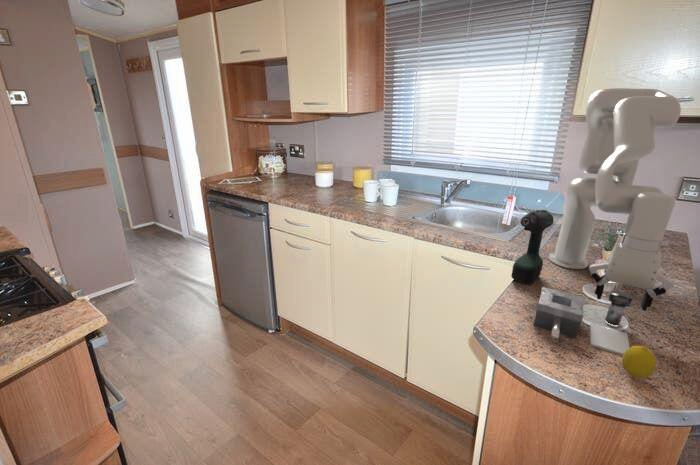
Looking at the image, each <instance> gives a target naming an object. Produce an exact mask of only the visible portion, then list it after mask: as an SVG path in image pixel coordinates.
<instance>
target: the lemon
mask: <svg viewBox="0 0 700 465" xmlns="http://www.w3.org/2000/svg"><path fill="white" fill-rule="evenodd" d="M629 347H630V348H629V349H627V350H626V352H625V353H624V355H622V358H621V363H622V367H623V369H624V371H625V372H626V373H628V374H629V375H630V376H631V377H632V378H639V379H645V378H647V377H650V376H651V375H652V374H653V373H654V372H655V369H656V366H657V359H656V356H655V353H653V351H651V350H650V349H649V348H647V347H646V346H642V345H633V346H629Z"/></svg>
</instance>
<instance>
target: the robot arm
mask: <svg viewBox="0 0 700 465" xmlns="http://www.w3.org/2000/svg"><path fill="white" fill-rule="evenodd" d="M681 112H682V109H681V104H680V102H679V100H678V98H677V97H675V96H673V95H672V94H670V93H667V92H665V91H663V90H660V89H658V88H657V89H656V88H630V87H629V88H628V87H627V88H626V87H625V88H624V87H623V88H622V87H621V88H620V87H617V88H616V87H614V88H613V87H612V88H611V87H610V88H604V89H603V88H602V89H598V90H597V91H595V92H593V93H592V94H591V95H590V97H589V99H588V101H587V104H586V109H585V119H586V120H585V121H586V122H585V123H586V133H585V137H584V141H583V146H582V149H581V152H580V158H579V162H578V163H579V164H578V167H579V170H580V171H581V172H582V173H584V174H589V175H596V177H577V178H574V179H573V180H571V181H570V182H569V184H568V186H567V190H566V203H565V209H564V213H563V219H562V221H561V226H560V231H559V234H558V238H557V243H556V247H555V250H554V252H550V253H549V255H548V259H549V260H550V262H552V263H553V264H555V265H557V266H560V267H562V268H565V269H566V268H567V269H571V270H584V269H587V268H588V269H589V271H590V274H591V278H592V279H593V280H594V281H595V282H596V286H595V290H594V295H596V299H597V300H601V298H602V296H603V292H604V290H605V285H606V284H607V283H609V282H612V283H616V284H621V285H625V286H629V287H634V288H639V289H644V290H646V292H644V295H643V298H642V300H641V304H640V306H641V310H642V311H644V312H646V311H647V309H648V308H651V306H652V304H653V300H654V298H656V297H659V296H661V295H663V294H665V293H667V292H668V291H669V290H670V289H672V288H674V286H675V285H674V282H673V281H672V280H670V279H668V278H667V277H665V276H663V275H662V274H661V273H659V269H660V265H661V260H662V250H661V249H662V248H665V249H668V248H669V245H670V242H668V241H664V240H663V239H664V236H665V232H666V230H667V228H668V225H669V222H670V219H671V216H672V213H673V210H674V207H675V204H676V200H675V198H674V197H673V196H672V195H669V194H666V193H664V192H663V191H662V190H661V189H660V188H658V187H655V186H651V185H649V186H647V185H636V184H635V185H633V183H634V180H635V176H636V173H637V170H638V167H639V160H640V159H643V158H646V157H647V156H649V155H650V154H652V153H653V151H654V150H655V148H656V143H655V130H667V129H670V128H672V127H674V126H675V125H676V124H677V123H678V120H679V119H680V116H681ZM591 207H597V208H598V209H599V211H601V212H604V213H610V214H620V215H621V214H622V215H628V218H627V220H626V224H625V227H624V229H623V233H622V237H621V240H620V241H616V243H615V244H614V246H613V247H612V249H611V251H610V254H609V257H608V259H607V261H606V262H601V263H594V264H590V265H589V262H588V260H587V259H586V254H587V251H588V248H589V246H590V245H589V244H590V241H591V237H592V234H593V231H594V227H595V223H596V216H595V214H594V212H593V211H592V210H591ZM588 266H589V267H588ZM599 270H604V274H602V275H599V274H598V272H597V271H599ZM657 281H658V282H659V283H661V285H660V286H657V287H655V285H656V282H657ZM654 287H655V288H654Z"/></svg>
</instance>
